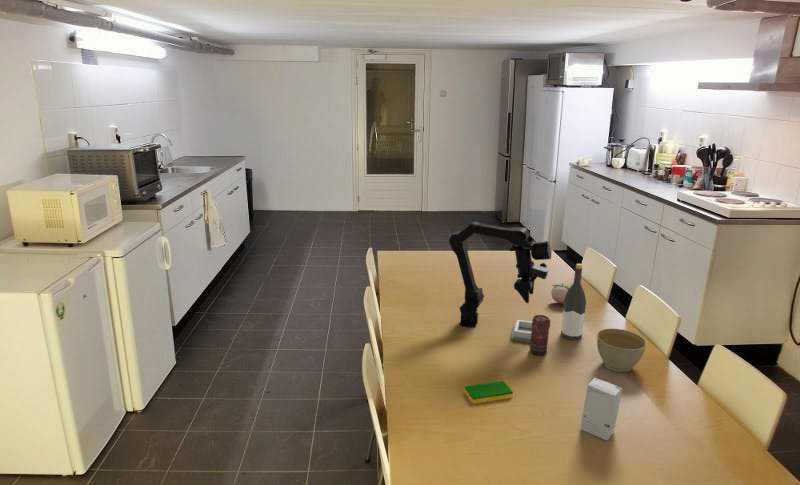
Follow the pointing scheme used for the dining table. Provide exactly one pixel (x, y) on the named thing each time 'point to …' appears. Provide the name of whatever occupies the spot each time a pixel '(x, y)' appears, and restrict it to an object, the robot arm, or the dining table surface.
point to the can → (539, 335)
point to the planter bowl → (620, 349)
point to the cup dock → (522, 331)
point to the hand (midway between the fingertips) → (529, 298)
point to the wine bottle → (574, 308)
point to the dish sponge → (488, 392)
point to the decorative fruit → (559, 292)
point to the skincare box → (601, 408)
